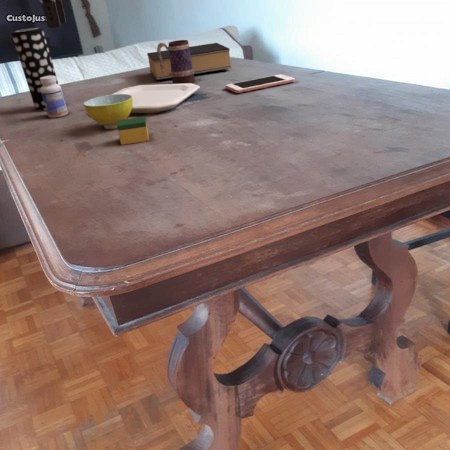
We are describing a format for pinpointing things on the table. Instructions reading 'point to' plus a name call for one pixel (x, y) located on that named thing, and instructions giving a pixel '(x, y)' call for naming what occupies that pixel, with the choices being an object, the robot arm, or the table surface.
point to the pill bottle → (53, 97)
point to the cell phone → (259, 83)
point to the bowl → (109, 109)
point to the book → (193, 60)
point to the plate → (158, 96)
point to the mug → (178, 61)
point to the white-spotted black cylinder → (34, 61)
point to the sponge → (132, 130)
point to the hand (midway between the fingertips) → (57, 25)
